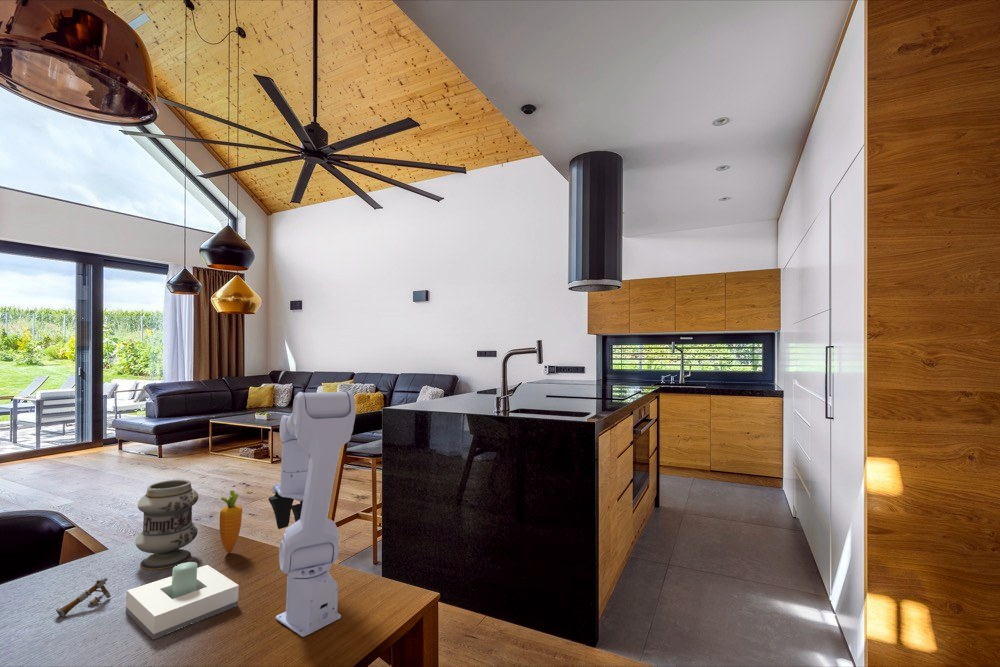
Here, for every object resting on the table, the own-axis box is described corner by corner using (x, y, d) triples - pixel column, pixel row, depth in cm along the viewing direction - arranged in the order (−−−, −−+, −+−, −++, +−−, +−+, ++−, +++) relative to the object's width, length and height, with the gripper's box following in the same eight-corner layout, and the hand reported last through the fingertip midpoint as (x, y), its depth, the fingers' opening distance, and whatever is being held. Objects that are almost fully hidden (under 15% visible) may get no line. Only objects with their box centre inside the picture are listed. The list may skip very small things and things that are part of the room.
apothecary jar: (151, 551, 115) (156, 477, 116) (205, 548, 117) (209, 476, 118) (121, 574, 103) (126, 491, 104) (181, 570, 105) (186, 490, 106)
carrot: (233, 557, 113) (236, 494, 113) (212, 557, 113) (216, 494, 113) (244, 549, 118) (247, 489, 118) (225, 548, 118) (228, 488, 118)
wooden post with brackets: (117, 593, 94) (107, 576, 92) (70, 628, 87) (59, 610, 86) (112, 591, 95) (103, 574, 93) (65, 626, 88) (54, 608, 86)
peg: (199, 602, 91) (201, 565, 91) (176, 611, 88) (178, 573, 88) (189, 596, 93) (191, 560, 93) (166, 604, 90) (168, 567, 90)
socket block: (237, 605, 92) (238, 585, 92) (153, 640, 80) (154, 616, 81) (206, 583, 100) (207, 564, 100) (125, 612, 89) (126, 590, 89)
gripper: (330, 471, 103) (327, 534, 102) (294, 461, 111) (291, 519, 111) (300, 478, 97) (297, 544, 96) (264, 466, 106) (261, 527, 105)
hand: (292, 531), depth 103 cm, fingers open, 7 cm apart
